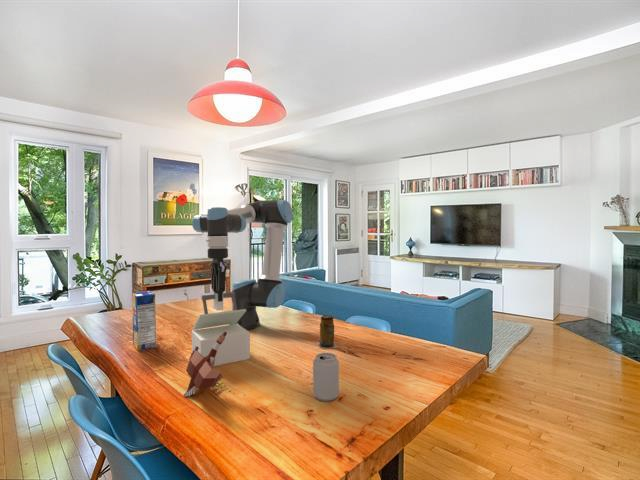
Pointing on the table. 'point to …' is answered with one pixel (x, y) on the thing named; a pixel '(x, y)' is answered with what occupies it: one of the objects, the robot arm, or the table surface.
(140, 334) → the beverage box
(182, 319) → the table surface
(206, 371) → the decorative bird
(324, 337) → the condiment
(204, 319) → the lid flap
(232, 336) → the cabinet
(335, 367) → the can
